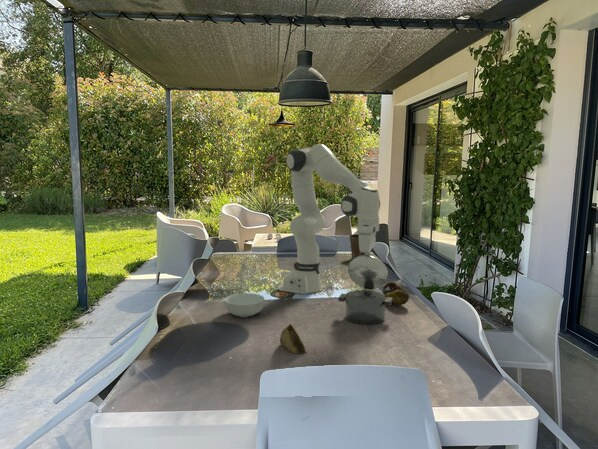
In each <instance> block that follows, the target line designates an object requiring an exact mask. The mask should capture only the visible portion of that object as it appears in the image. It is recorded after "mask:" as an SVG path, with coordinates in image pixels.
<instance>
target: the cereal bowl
mask: <svg viewBox="0 0 598 449" xmlns="http://www.w3.org/2000/svg"><path fill="white" fill-rule="evenodd" d="M224 306H225V309H226V311H227V312H229V313H230V314H232V315H235V317H238V316H239V318H249V317H248V316H250V317H252V316H254V315H256V314H258V313H260V312H261V311H262V310H263V309H264V306H265V297H264V296H262V295H260V294H257V293H250V292H242V293H234V294H230V295H228V296H226V297H225V298H224ZM251 315H252V316H251Z"/></svg>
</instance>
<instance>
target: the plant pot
mask: <svg viewBox="0 0 598 449" xmlns="http://www.w3.org/2000/svg"><path fill="white" fill-rule="evenodd" d="M349 242H350V251H351V252H350V253H351V261H352V260H353V259H354V258H356V257H359V256H364V255H365V253H363V252H360V250H359V233H357V234H356V233H355V234H354V233H353V234H350V235H349Z"/></svg>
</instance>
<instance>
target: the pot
mask: <svg viewBox="0 0 598 449" xmlns="http://www.w3.org/2000/svg"><path fill="white" fill-rule="evenodd" d="M338 302H343V303H344V302H345V320H346V321H348V322H349V323H352V324H356V325H361V326H371V325H372V326H373V325H379V324H382V323H383V322H385V319H386V316H385V315H386V306H389V307H391V305H392V298H390V297H386V299H385V295H384V294H383V292H380V291H377V290H375V289H364V288H362V289H357V290H354V289H353V290H350V291H348V292H346V293H341V294H340V295H339V296H338Z"/></svg>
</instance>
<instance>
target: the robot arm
mask: <svg viewBox="0 0 598 449" xmlns="http://www.w3.org/2000/svg"><path fill="white" fill-rule="evenodd" d="M285 158H286V160H285V161H286V166H287V167H288V169H289V170H290V171H291V178H290V179H291V181H290V182H291V189H292V190H291V192H292V196H293V203H294V205H295V206H296V207H297V209H298V212H299V213H300V214H298V215H297V216H295V217H294V218H292V220H290V223H289V231H290V232H291V233H290V234H292V235H293V236H294V238H295V239H294V240H295V243H296V249H297V252H296V253H297V254H296V255H297V260H296V261H295V262H294V263H293V266H292V267H293V269H292V270H290V272H288V273H287V274H286V275H285V276H283V281H282V283H281V284H279V285H278V291H281V292H287V293H288V292H289V293H294V294H301V295H307V294H311V293H312V294H313V293H318V292H321V291H323V287H322V282H321V262H320V247H319V244H318V243H317V240H316V235H317V234H319V233H320V232H321V231H322V230H324V228H325V227H326V218H325V216H324V215H323V214H322V212H321V210H320V207H319V204H318V201H317V198H316V191H315V185H314V177H313V174H314V172H316V173H317V175H318V177H320V179H322V180H323V181H325V182H326V183H329V184H330V183H332V184H337V185H341V186H344V187H346V188H348V189H349V190H350V191H351V192H352V193H349V194H346V195H344V196H343V197H342V198H341V202H340V209H341V211H342V214H343V215H344V216H347V217H349V218H350V217H357V228H356V231H357V232H356V233H357V234H359V250H360V252H363V253H365V255H367V256H371V254H372V249H373V248H374V246H375V245H376V234H377V232H380V216H379V213H380V212H379V211H380V209H381V200H380V194H379V190H378V189H377V188H375V187H371V186H366V185H365V184H364V183H363V182H362V180H360V178H359V177H358V176H357V175H356V174H355V173H354V172H353V171H351V169H349V168H347V167H346V166H345V165H344V164H343V163H341V161H340V160H339V159H338V158H337V157H336V155H335V154H334V152H333V151H331V149H330V148H329V147H327V146H326V145H325V144H323V143H316V144H313V146H312V147H306V148H300V149H293V150H290V151H288V153H287V155H286V157H285Z"/></svg>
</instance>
